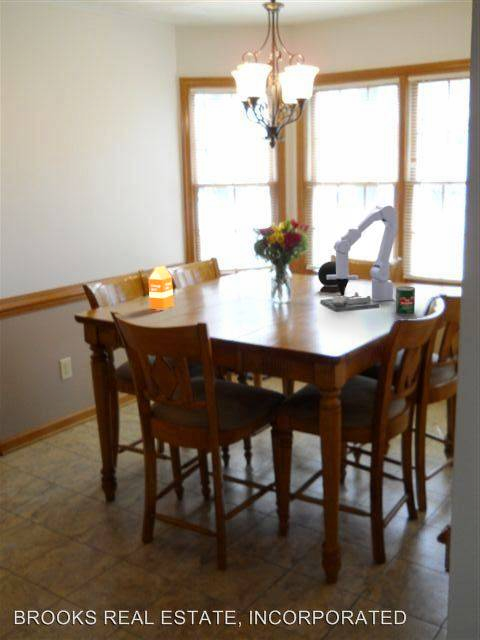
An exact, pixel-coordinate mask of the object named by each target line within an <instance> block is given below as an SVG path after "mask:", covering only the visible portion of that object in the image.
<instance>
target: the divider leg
mask: <svg viewBox="0 0 480 640" xmlns="http://www.w3.org/2000/svg"><path fill="white" fill-rule="evenodd" d="M345 296H346V303H347V298H356V297H359V296H360V295H359V292H358V291H357V292H354V293H353V294H350V295H345Z"/></svg>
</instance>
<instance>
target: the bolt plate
mask: <svg viewBox="0 0 480 640" xmlns="http://www.w3.org/2000/svg"><path fill="white" fill-rule="evenodd" d="M346 296H347V295H345V294H344V295H340V294H335V295H333V297H332V298H325V299H320V302H319V303H320V304H322V305H323V306H325V307H327V308H329V309H331V310H333V311H334V312H342V311H352V310H363V309H364V310H365V309H374V308H380V303H379V302H377V301H373V300H371V297H372V296H371V295H370V294H367V295H366V296H364V295H361V296H360V295H359V297H356V298H347V303H346Z"/></svg>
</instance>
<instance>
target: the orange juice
mask: <svg viewBox="0 0 480 640" xmlns="http://www.w3.org/2000/svg"><path fill="white" fill-rule="evenodd" d="M147 281H148V292H149V293H148V294H149V296H148V297H149V307H150V308H156V309H166V308H168V307H171V306H174V307H175V304H174V291H173V290H174V288H173V276H172V274H170V272H169V271H168V269H167V267H166V265H164V264H163V265H159V266H156V267H154V269H153V270H152V271H151V274H150V276H149V277H148V279H147ZM150 308H149V309H150Z"/></svg>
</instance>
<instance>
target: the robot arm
mask: <svg viewBox="0 0 480 640" xmlns="http://www.w3.org/2000/svg"><path fill="white" fill-rule="evenodd" d="M397 217H398V216H397V211H396V209H395V208H394V207H393V206H392V205H386V204H382V203H381V204H380V203H379V204H377V205H376V206H375V207H374V208H373V209H372V210H371V211H370V212H369V213H368V215H367V216H366V217H365V218H364V219H363V220H362V221H361V222H360V223H359V224H358V225H357V226H356V227H352V228H349V229H348V230H347V233H345V235H344V236H341V237H340V239H338V240H336V242H335V243H334V245H333V249H334V251H335V262H336V275H327V280H329V279H336V283H337V285H338V288H339V290H340V292H339V293H340V294H339V295H345V292H346V288H347V286H348V283H349V281H358V280H359V275H354V274H349V267H350V266H349V252H350V251H351V249H352V248H351V247H353V245H354V244H355V243H357V241H359V240H360V239H361V237H362V233H363V232H364V231H365V230H367V229H368V228H369V227H370V226H371V225H372V224H373V223H374V222H378V221H381V222H382V223H383V225H384V226H385V227H384V231H383V236H382V239H381V243H380V247H379V252H378V255H377V259H376V260H375V261H374V262H373V264H372V265H373V266H372V267H371V268H370V270H369V275H370V277H371V278H372V279H371V296H370V297H371V300H372V301H374V302H382V301H383V302H384V301H393V300H395V299H394V284H393V281H392V280H390V279H389V278H390V276H391V275H390V272H391V271H390V268H391V266H390V263H389V261H390V257H391V253H392V249H393V245H394V242H395V237H396V234H397V230H398V226H399V222H398V219H397Z"/></svg>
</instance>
